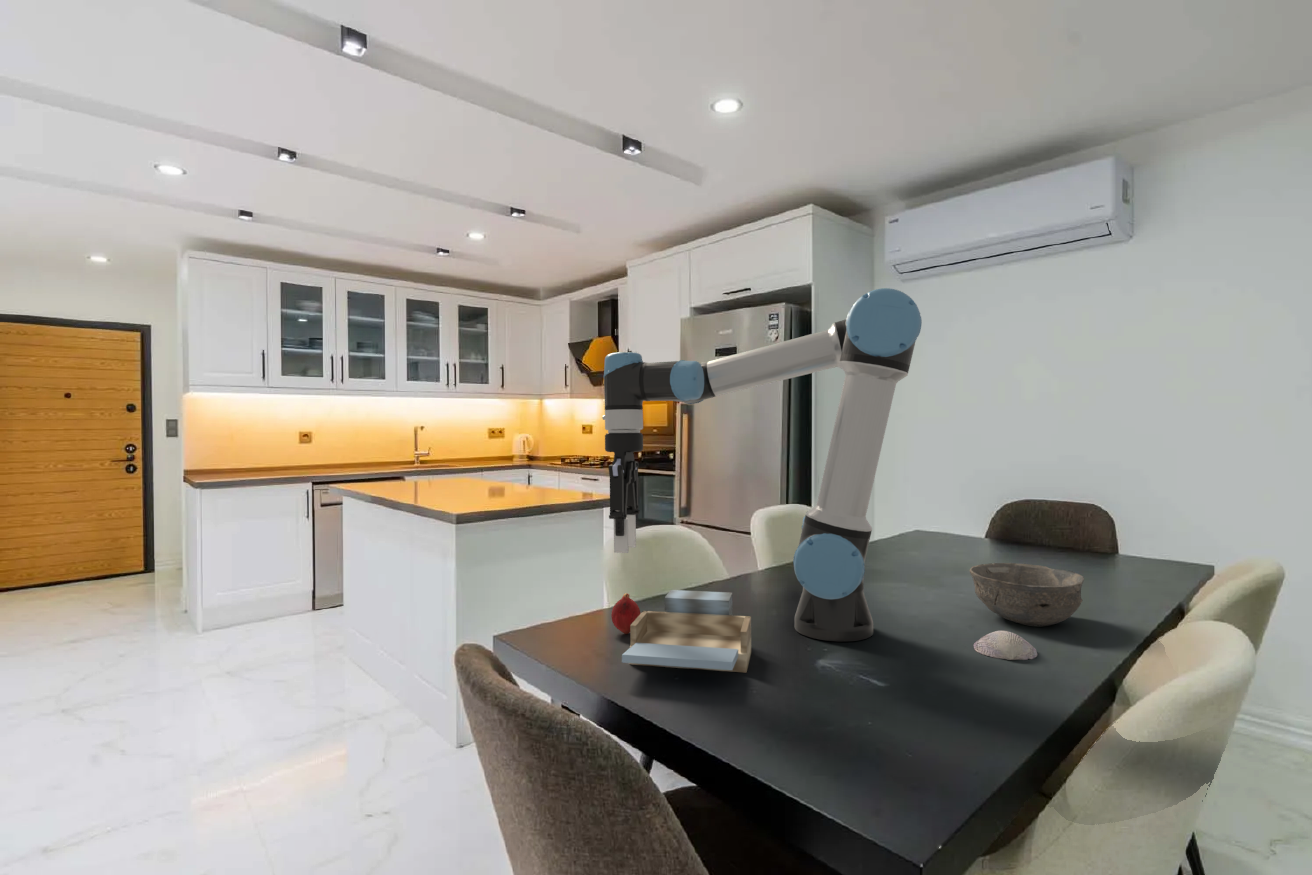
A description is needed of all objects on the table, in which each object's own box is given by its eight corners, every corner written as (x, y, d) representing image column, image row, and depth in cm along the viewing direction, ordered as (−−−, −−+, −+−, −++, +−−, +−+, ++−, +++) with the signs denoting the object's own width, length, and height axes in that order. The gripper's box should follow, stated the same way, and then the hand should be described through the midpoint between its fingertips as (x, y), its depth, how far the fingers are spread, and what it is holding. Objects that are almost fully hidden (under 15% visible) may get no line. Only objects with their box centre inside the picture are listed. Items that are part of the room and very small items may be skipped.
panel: (738, 649, 107) (732, 662, 98) (738, 659, 107) (732, 673, 98) (636, 642, 111) (621, 654, 102) (636, 652, 111) (621, 665, 102)
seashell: (978, 643, 112) (969, 615, 121) (978, 671, 113) (969, 641, 123) (1045, 646, 109) (1030, 617, 118) (1044, 676, 110) (1030, 645, 119)
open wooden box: (753, 640, 123) (753, 593, 123) (746, 672, 107) (745, 618, 107) (651, 634, 128) (651, 588, 128) (629, 664, 111) (628, 612, 111)
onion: (637, 639, 125) (636, 597, 125) (608, 637, 126) (607, 596, 126) (643, 630, 130) (643, 590, 130) (616, 628, 132) (615, 589, 132)
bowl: (973, 629, 128) (973, 579, 128) (966, 603, 148) (966, 559, 147) (1097, 641, 121) (1097, 587, 121) (1072, 612, 140) (1072, 566, 140)
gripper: (618, 431, 137) (619, 541, 138) (591, 432, 120) (592, 557, 120) (652, 431, 136) (654, 542, 136) (630, 431, 118) (631, 559, 118)
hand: (625, 549), depth 128 cm, fingers open, 5 cm apart
